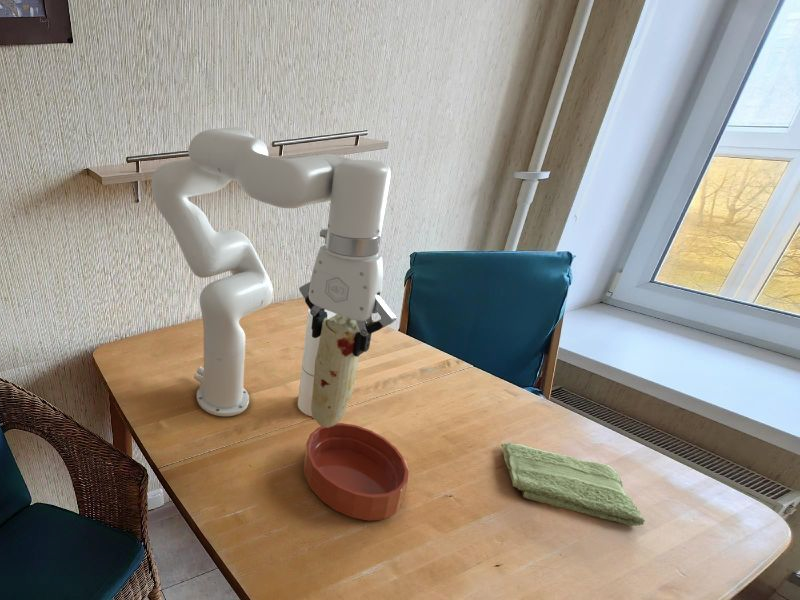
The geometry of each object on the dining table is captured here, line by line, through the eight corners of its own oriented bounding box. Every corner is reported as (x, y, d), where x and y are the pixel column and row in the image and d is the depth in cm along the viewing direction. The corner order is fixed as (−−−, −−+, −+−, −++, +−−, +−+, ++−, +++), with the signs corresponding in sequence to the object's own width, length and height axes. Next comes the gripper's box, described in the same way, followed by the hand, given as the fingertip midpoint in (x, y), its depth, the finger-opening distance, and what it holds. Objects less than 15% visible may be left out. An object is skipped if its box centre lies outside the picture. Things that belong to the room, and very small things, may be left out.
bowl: (285, 476, 82) (288, 452, 80) (332, 433, 92) (336, 411, 90) (375, 542, 70) (381, 516, 68) (418, 484, 80) (424, 460, 78)
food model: (341, 439, 71) (359, 336, 64) (301, 424, 75) (314, 324, 68) (353, 406, 79) (370, 310, 72) (316, 393, 82) (329, 301, 75)
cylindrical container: (329, 400, 102) (342, 307, 93) (330, 420, 96) (344, 322, 87) (298, 394, 104) (308, 303, 96) (296, 413, 98) (307, 318, 89)
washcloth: (496, 446, 88) (500, 434, 87) (610, 476, 80) (617, 463, 79) (511, 496, 77) (516, 483, 76) (646, 536, 70) (654, 522, 68)
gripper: (289, 236, 69) (281, 331, 76) (399, 264, 57) (379, 376, 63) (315, 227, 74) (306, 318, 80) (423, 251, 61) (402, 357, 67)
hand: (338, 342), depth 71 cm, fingers closed on food model, 6 cm apart
